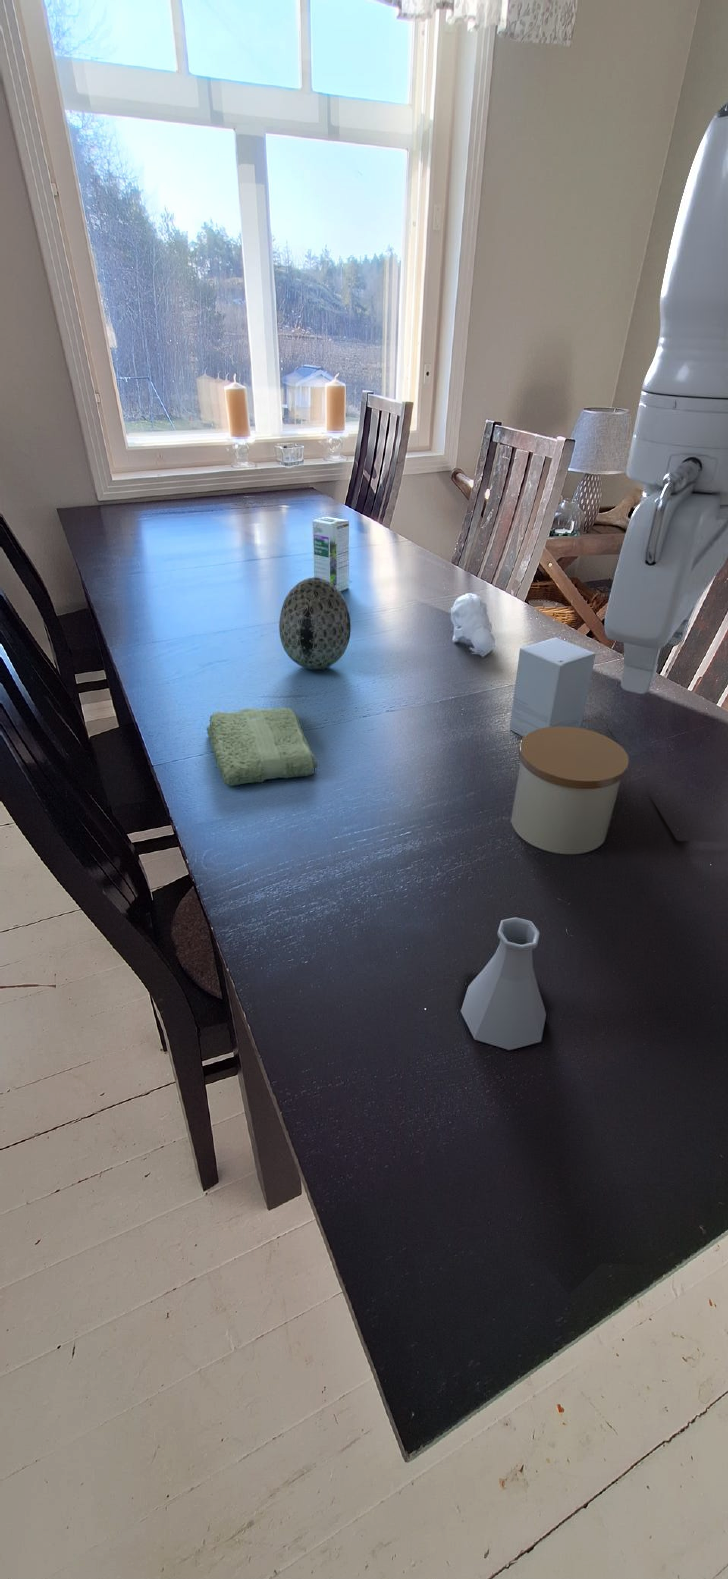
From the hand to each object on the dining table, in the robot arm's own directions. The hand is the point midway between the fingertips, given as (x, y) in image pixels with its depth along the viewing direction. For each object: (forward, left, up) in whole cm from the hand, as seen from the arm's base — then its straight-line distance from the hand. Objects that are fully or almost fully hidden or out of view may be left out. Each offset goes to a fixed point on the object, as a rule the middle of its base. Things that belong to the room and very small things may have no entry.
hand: (653, 663), depth 49 cm
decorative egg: (+28, -63, -29) cm, 75 cm away
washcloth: (+35, -35, -29) cm, 57 cm away
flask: (+8, +8, -29) cm, 31 cm away
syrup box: (+27, -104, -29) cm, 112 cm away
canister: (-3, -19, -29) cm, 35 cm away
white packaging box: (-6, -41, -29) cm, 51 cm away
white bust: (0, -72, -29) cm, 78 cm away
